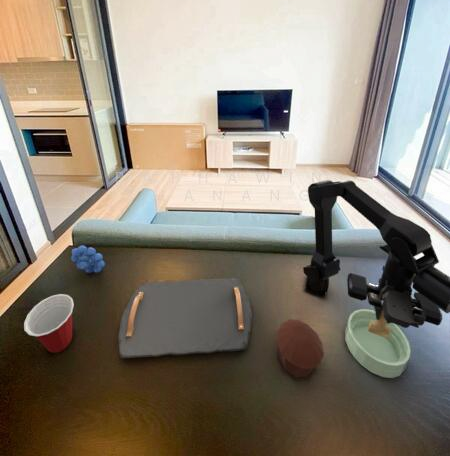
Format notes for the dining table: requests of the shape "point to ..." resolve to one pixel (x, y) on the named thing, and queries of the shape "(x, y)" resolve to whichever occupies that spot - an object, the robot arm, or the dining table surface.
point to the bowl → (377, 345)
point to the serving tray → (185, 318)
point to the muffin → (299, 348)
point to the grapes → (87, 259)
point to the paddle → (379, 326)
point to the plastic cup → (51, 322)
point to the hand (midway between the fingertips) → (382, 320)
